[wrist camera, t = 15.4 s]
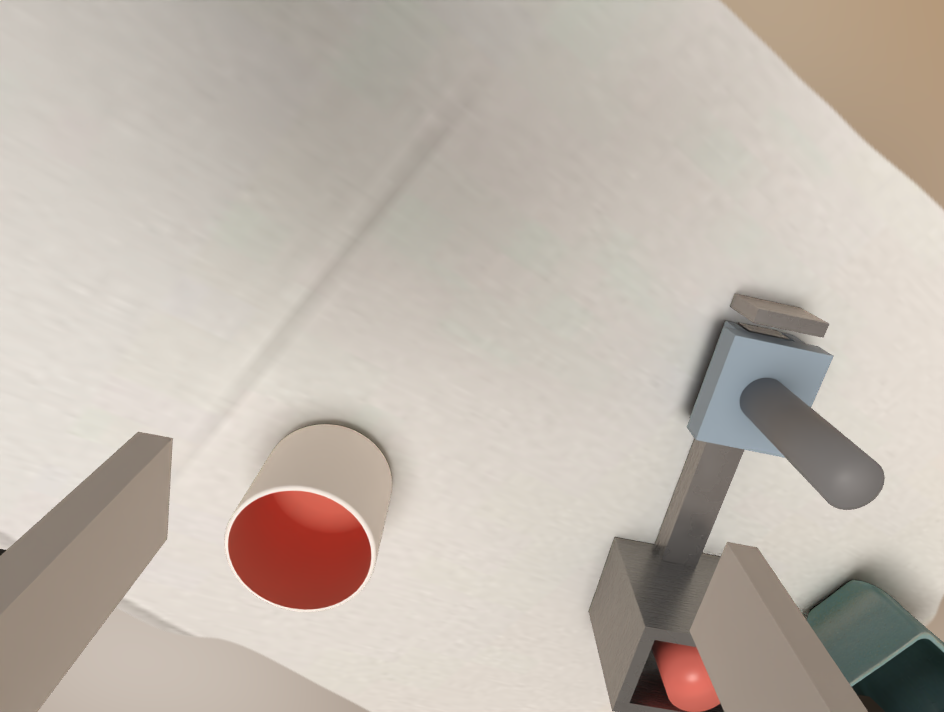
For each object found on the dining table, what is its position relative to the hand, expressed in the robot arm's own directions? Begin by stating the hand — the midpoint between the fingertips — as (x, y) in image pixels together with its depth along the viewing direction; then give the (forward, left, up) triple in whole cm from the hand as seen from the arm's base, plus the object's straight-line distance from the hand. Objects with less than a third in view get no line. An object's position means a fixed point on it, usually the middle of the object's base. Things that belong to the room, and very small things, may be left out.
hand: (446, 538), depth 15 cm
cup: (+19, -7, -32) cm, 38 cm away
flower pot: (+23, +39, -32) cm, 55 cm away
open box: (+24, +22, -32) cm, 45 cm away
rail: (+10, +22, -32) cm, 40 cm away
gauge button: (+24, +22, -26) cm, 42 cm away
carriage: (+4, +22, -32) cm, 39 cm away
